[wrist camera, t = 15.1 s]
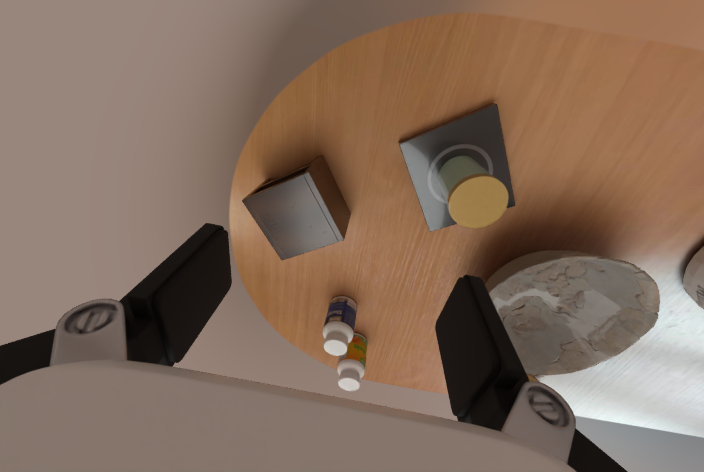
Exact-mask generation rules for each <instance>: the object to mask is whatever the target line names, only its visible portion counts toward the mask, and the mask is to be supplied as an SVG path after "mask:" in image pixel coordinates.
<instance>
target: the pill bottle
mask: <svg viewBox="0 0 704 472" xmlns="http://www.w3.org/2000/svg"><path fill="white" fill-rule="evenodd" d="M356 312H357V305H356V303H355V302H354V301H353V300H352V299H350V298H349V297H345V296H338V297H335V298H334V299H332V301H331V302H330V305H329V309H328V313H327V317H326V321H325V325H324V328H323V336H324V338H325V341H324V349H325V351H326V352H328V353H329V354H331V355H335V356H339V355H343V354H345V353H346V352H347V348H348V343H350V342H351V340H352V338H353V335H354V327H355V320H356Z"/></svg>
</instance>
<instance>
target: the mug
mask: <svg viewBox="0 0 704 472" xmlns="http://www.w3.org/2000/svg"><path fill="white" fill-rule="evenodd" d="M683 283H684V287H685V291H686V292H687V293H688V294H689V295H690V296H691V298H692V299H693V300H694V301H695V302H696V303H697V304H698V306H700V307H701V308H703V309H704V246H703V247H702V248H701V249H700V250H699V251H698V252H697V253H696V254H695V255H694V256H693V258H692V259H691V261H690V262H689V264H688V265H687V268H686V270H685V275H684V279H683Z"/></svg>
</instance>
